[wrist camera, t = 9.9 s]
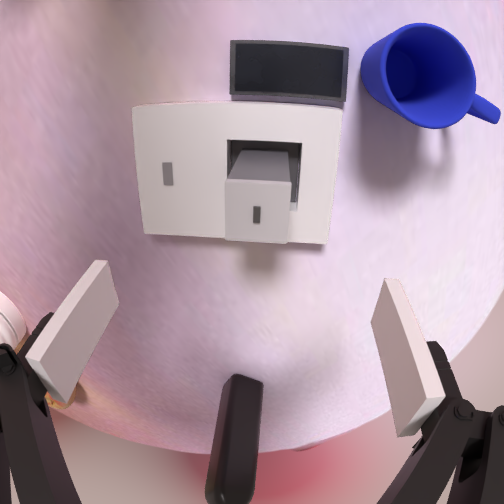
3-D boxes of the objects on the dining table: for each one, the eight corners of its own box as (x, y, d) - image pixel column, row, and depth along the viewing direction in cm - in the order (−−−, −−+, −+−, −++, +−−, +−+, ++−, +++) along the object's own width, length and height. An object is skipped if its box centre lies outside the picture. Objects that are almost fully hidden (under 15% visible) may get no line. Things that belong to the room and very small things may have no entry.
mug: (442, 137, 29) (491, 164, 20) (341, 95, 28) (366, 104, 20) (463, 71, 25) (519, 79, 16) (362, 23, 24) (395, 4, 15)
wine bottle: (250, 397, 53) (231, 560, 28) (220, 387, 52) (191, 553, 27) (265, 382, 51) (250, 559, 25) (234, 371, 50) (205, 554, 24)
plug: (242, 147, 32) (224, 183, 22) (288, 149, 31) (291, 186, 22) (241, 189, 34) (224, 241, 24) (285, 192, 34) (286, 245, 24)
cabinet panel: (141, 104, 30) (130, 107, 28) (338, 107, 29) (343, 110, 27) (151, 223, 37) (143, 234, 35) (324, 233, 36) (327, 245, 34)
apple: (41, 359, 56) (24, 385, 49) (71, 365, 55) (55, 395, 48) (57, 384, 61) (44, 410, 54) (87, 391, 60) (74, 419, 53)
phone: (232, 41, 26) (230, 40, 25) (346, 48, 26) (349, 47, 25) (231, 93, 29) (229, 94, 28) (343, 101, 29) (345, 101, 28)
